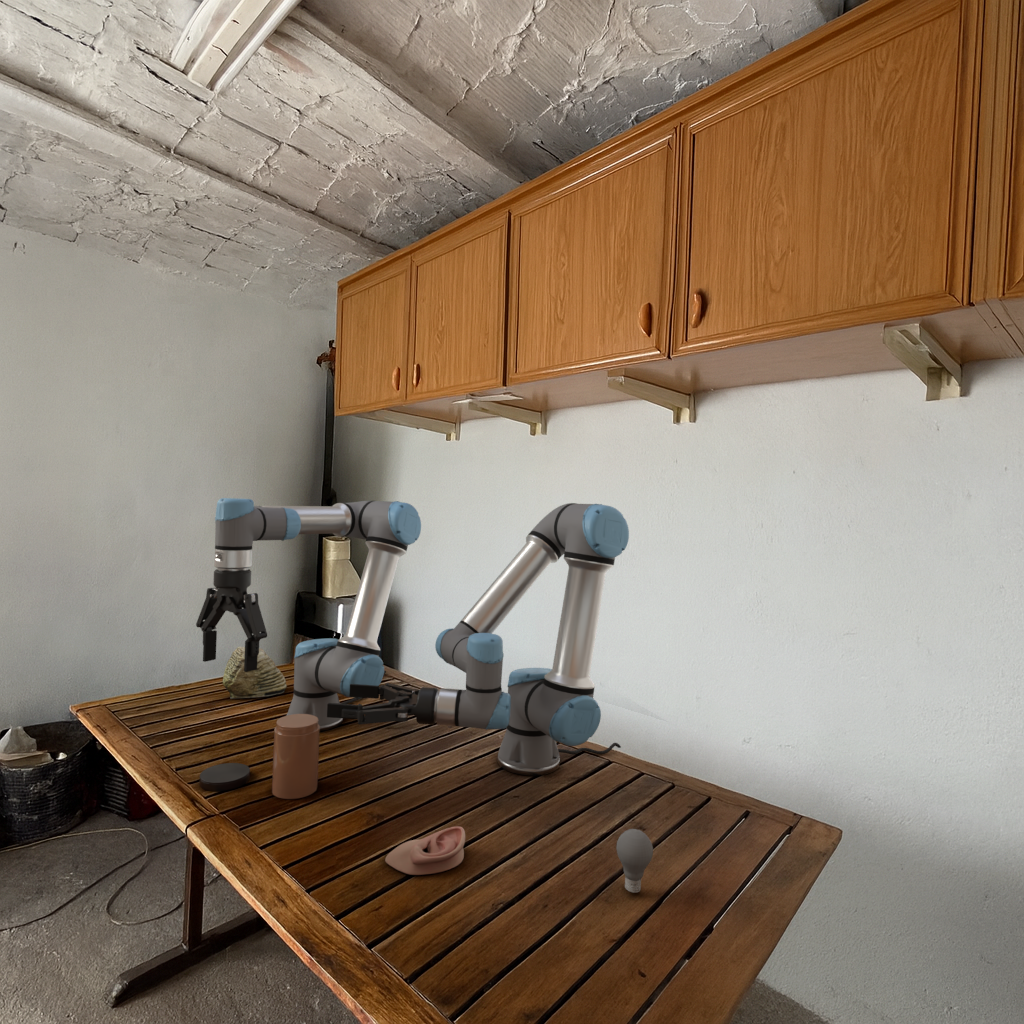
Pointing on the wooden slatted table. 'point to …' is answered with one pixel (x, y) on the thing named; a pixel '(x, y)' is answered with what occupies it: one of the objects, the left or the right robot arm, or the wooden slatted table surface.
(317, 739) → the jar
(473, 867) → the wooden slatted table surface
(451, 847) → the anatomical model
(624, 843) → the light bulb
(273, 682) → the fossil
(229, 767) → the lid
